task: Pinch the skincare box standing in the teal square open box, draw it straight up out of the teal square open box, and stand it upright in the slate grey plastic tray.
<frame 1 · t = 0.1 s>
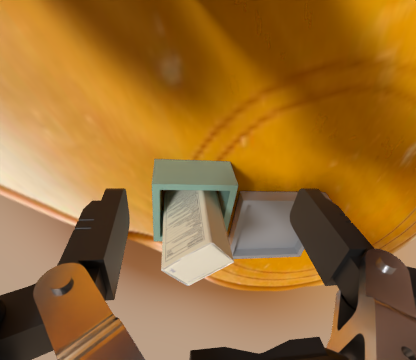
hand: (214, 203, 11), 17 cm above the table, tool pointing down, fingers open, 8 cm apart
teal square open box: (190, 189, 33), on the table
skincare box: (190, 188, 33), resting in teal square open box
tray: (271, 222, 39), on the table
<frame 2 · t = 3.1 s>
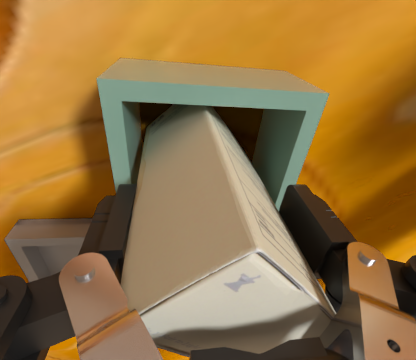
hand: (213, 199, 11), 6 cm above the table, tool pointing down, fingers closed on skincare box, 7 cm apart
teal square open box: (201, 140, 16), on the table
skincare box: (200, 139, 16), resting in teal square open box, touching gripper
tray: (120, 267, 23), on the table
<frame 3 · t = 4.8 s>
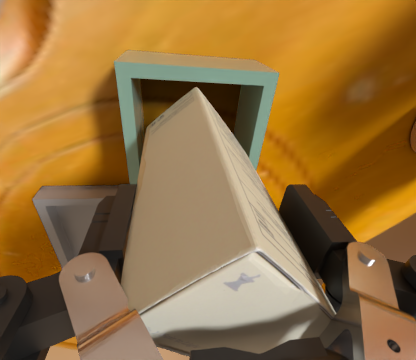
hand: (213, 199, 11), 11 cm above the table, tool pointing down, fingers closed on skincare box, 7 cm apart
teal square open box: (191, 117, 20), on the table
skincare box: (200, 139, 16), point 5 cm above the table, touching gripper
tray: (125, 232, 27), on the table
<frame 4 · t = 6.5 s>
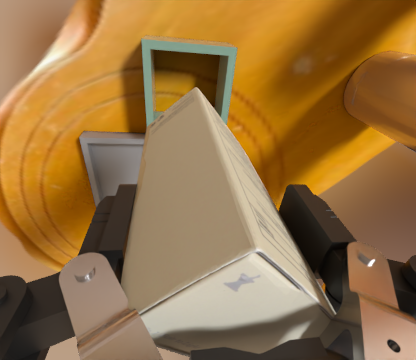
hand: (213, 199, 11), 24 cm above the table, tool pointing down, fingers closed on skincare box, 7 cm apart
teal square open box: (186, 82, 30), on the table
skincare box: (200, 139, 16), point 17 cm above the table, touching gripper
tray: (138, 172, 37), on the table
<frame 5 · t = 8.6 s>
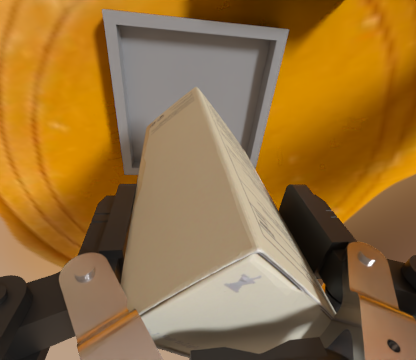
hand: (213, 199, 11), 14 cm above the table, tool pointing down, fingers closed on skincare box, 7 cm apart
skincare box: (200, 139, 16), point 7 cm above the table, touching gripper
tray: (194, 104, 22), on the table
when the fingers open (8 cm above the table, at t = 10.1 s): skincare box drops 1 cm, resting on tray.
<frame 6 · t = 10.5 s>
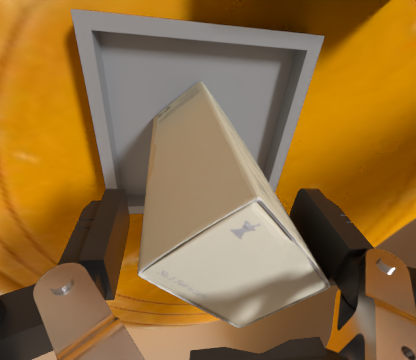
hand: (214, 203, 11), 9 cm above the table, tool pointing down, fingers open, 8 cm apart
skincare box: (203, 130, 18), resting on tray, touching gripper
tray: (197, 129, 18), on the table
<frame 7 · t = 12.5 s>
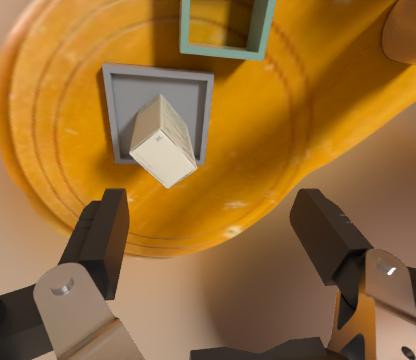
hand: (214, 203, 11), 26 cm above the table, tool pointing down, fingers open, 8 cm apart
teal square open box: (220, 6, 28), on the table
skincare box: (164, 118, 34), resting on tray
tray: (161, 117, 34), on the table
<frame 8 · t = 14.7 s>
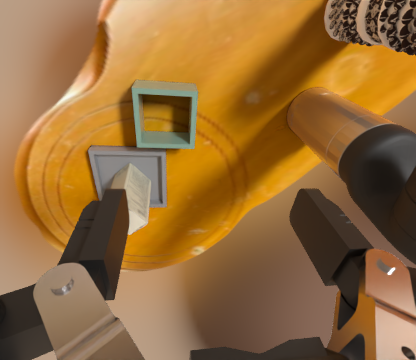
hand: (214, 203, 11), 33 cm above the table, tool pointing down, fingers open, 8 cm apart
teal square open box: (166, 110, 41), on the table
decorative candle: (350, 9, 36), on the table
skincare box: (134, 177, 48), resting on tray
tray: (132, 176, 48), on the table
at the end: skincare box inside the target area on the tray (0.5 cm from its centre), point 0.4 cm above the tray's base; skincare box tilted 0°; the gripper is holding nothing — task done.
